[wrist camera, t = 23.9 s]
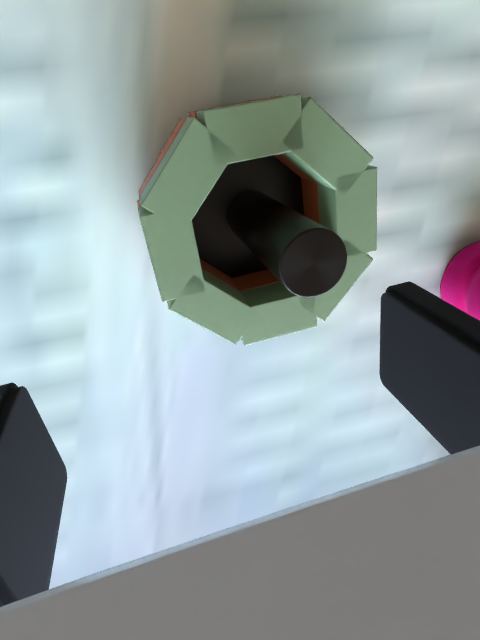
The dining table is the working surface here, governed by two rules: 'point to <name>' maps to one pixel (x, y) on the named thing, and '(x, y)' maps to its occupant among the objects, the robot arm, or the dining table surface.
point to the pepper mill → (463, 281)
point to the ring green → (201, 175)
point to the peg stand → (267, 229)
